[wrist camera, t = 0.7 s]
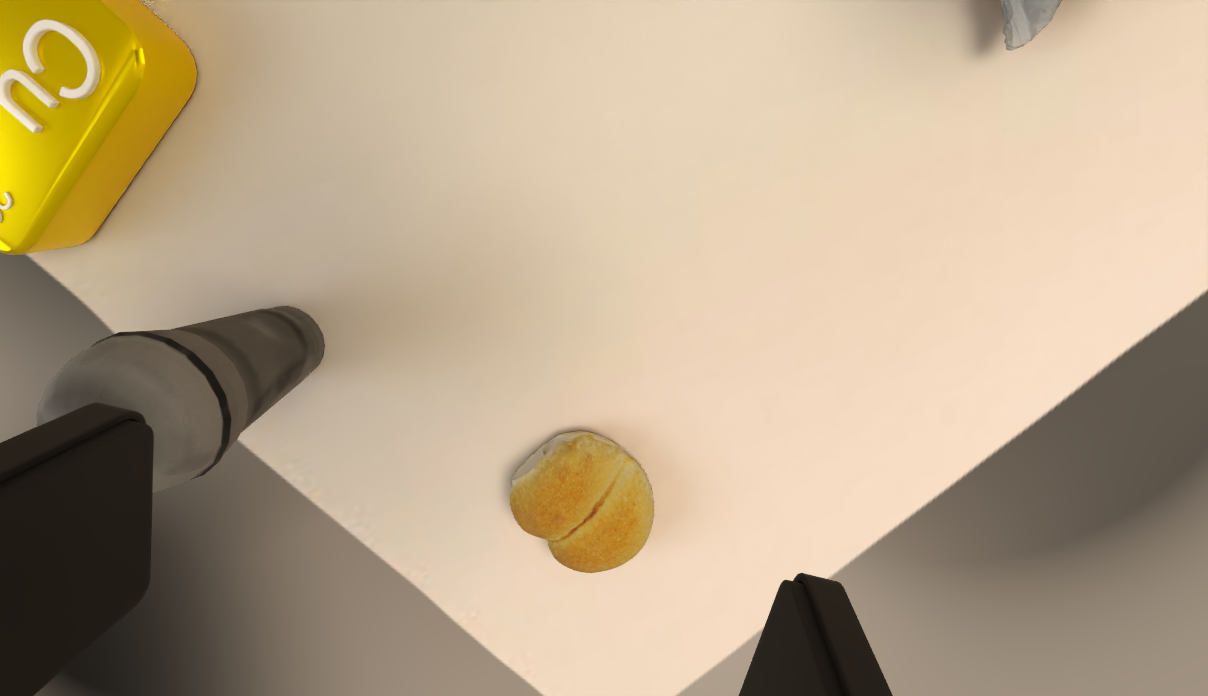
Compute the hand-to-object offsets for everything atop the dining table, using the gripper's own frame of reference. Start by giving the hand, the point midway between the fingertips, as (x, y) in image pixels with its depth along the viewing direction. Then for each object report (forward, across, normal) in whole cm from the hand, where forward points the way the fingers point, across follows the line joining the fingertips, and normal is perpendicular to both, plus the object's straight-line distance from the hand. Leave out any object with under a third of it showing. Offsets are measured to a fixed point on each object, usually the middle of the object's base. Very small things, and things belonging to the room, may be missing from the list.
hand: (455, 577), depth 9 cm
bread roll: (+29, -2, +15) cm, 33 cm away
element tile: (+29, +33, -3) cm, 45 cm away
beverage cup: (+29, +18, +9) cm, 35 cm away
